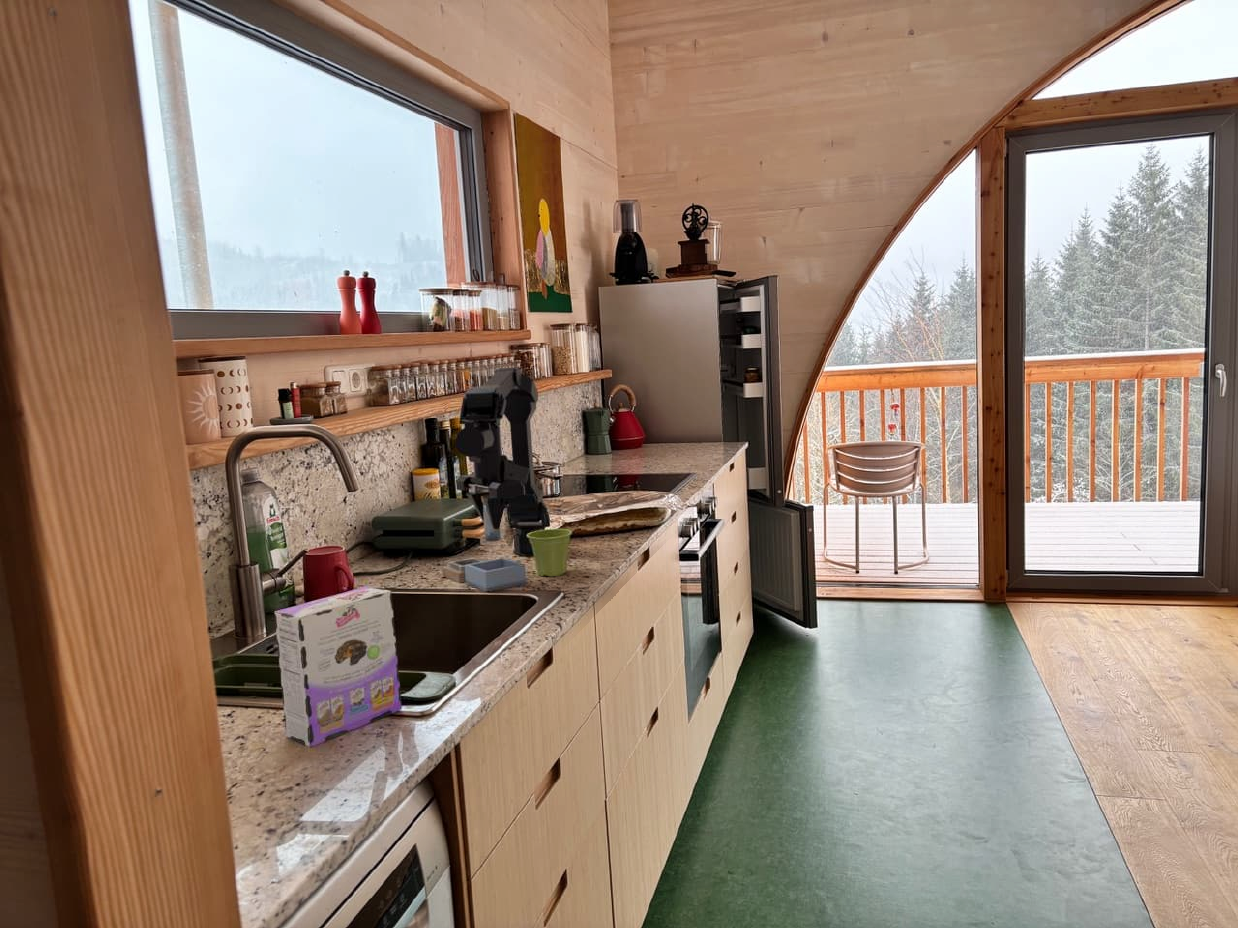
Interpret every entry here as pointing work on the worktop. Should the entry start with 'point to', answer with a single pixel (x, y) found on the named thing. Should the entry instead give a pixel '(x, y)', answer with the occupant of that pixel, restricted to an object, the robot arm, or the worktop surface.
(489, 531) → the glass spice jar
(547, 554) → the plant pot
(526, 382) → the robot arm
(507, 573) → the bin
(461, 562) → the beige shallow open box
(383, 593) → the candy box
